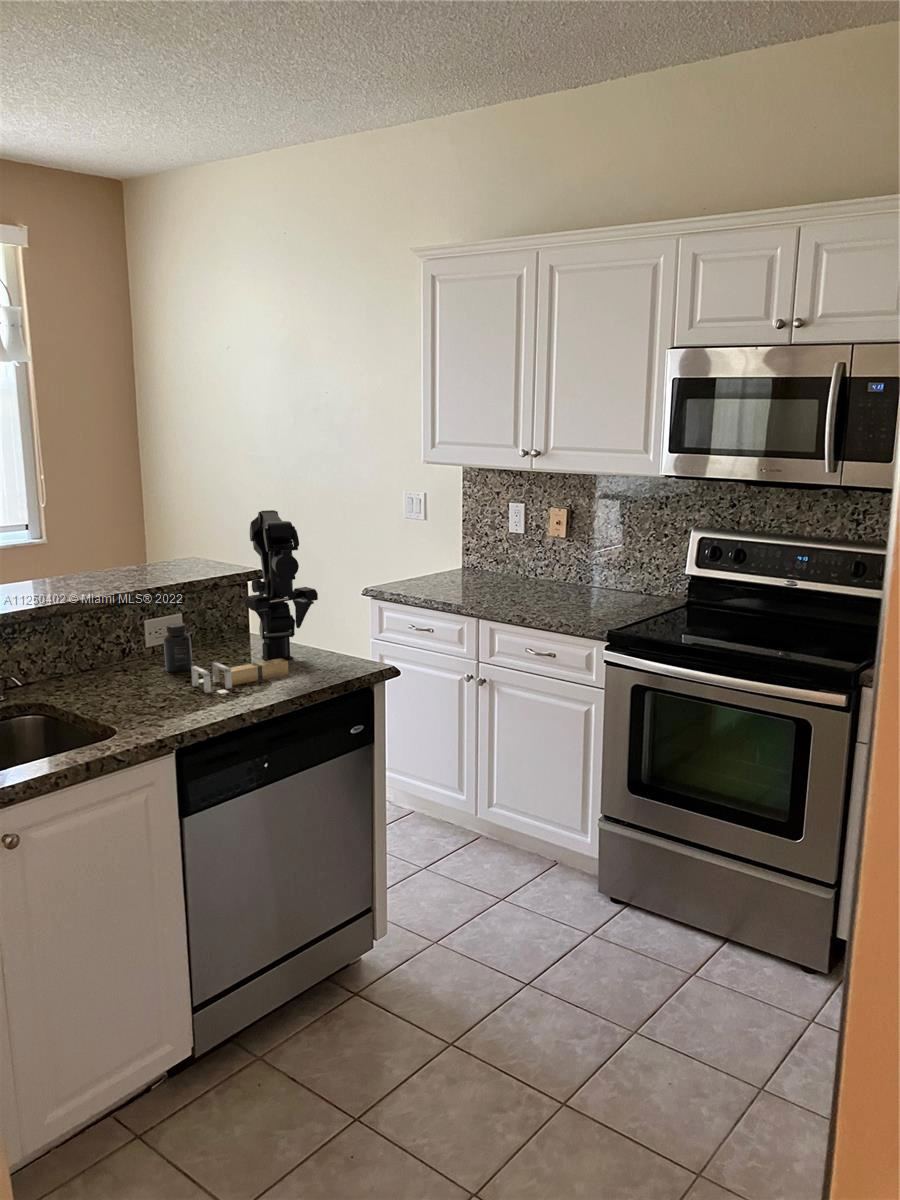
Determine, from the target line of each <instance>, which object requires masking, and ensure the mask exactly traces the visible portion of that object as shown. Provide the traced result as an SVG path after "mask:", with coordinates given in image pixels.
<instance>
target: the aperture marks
mask: <svg viewBox="0 0 900 1200" xmlns="http://www.w3.org/2000/svg"><path fill="white" fill-rule="evenodd" d="M199 684H204V679H203V678H201V679H199ZM216 693H218V694H220V695H224V694H229V691H228V689H226V688H225V689H220V690H219V689H218V690H216Z"/></svg>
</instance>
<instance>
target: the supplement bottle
mask: <svg viewBox="0 0 900 1200" xmlns="http://www.w3.org/2000/svg"><path fill="white" fill-rule="evenodd" d="M186 625H187V624H186V623H182V622H176V623H173V622H172V623H170V624H166V634H167V635H165V636H164V638H163V647H164V648H163V650H164V662H165V665H164V666H165V671H167V672H168V673H185V672H188V671H191V667H192V666H194V665H193V653H192V640H191V636H190V635H189V633H186V632H187V626H186Z"/></svg>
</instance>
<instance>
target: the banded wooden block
mask: <svg viewBox="0 0 900 1200" xmlns="http://www.w3.org/2000/svg"><path fill="white" fill-rule="evenodd" d="M230 668H231V677H232V686H237V685H241V684H246V683H250V682H255V681H261V680H266V679H271V678H276V677H281V676H286V675H289V661H288V660H284V659H282V658H279V659H274V660H269V661H267V660H265V661H260V662H252V663H248V664H242V665H237V666H232V667H230ZM223 674H224V675H223V676H224V677H225V673H224V672H223ZM285 674H286V675H285ZM280 675H281V676H280ZM275 676H276V677H275ZM265 678H266V679H265Z"/></svg>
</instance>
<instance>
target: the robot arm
mask: <svg viewBox="0 0 900 1200" xmlns="http://www.w3.org/2000/svg"><path fill="white" fill-rule="evenodd" d="M249 540H250V542H252V547H253V551H255V552H256V553H257V555H259V557H260V562H261V571H262V577H263V578H262V579H260V578H257V579H252V580H251V591H252V592H253V593H254V594H252V595H247V596H246V597H245V599H244V607H245V608H248V609H249V610H251V611H254V612H255V613H256V614H257V616H258V618H259V620H260V622H259V627H258V628H259V636H260V639H261V640H263V642H262V648H261V649H262V656H261V659H263V660H265V661H269V660H274V659H279V658H282V659H284V660H287V661H288V660H293V659H294V656H291V649H290V648H291V643H290V642H291V640H290V638H294V636H295V635H296V634H295V633H296V632H295V630H296V629H295V628H297V629H300V628H301V626H302V623H303V621H304V620H305V617H306V615H307V613H308V611H309V609H310V608H311V606H312V605H314V603H315V602H314V601H318V599H319V595H318V594H319V593H318V592H317V590H316V588H311V587H307V586H302V587H296V588H294V586H293V585H294V584H293V583H294V582H293V581H294V580H296V574H297V573H298V571H299V568H300V566H299V562H298V560H297V558H296V557H295V556H294V555H293V551H298V550H299V546H300V541H299V535H298V530H297V529H296V527H295V526H294V525H293V523H292V522H291V521H289V520H288V521H287V520H282V519H281V518H280V516H279V511H277V510H272V509H271V510H268V509H267V510H261V511H258V513H257V516H256V517H255V518H254V519H253V520H252V521H251V522H250V526H249ZM262 580H263V581H262ZM256 593H258V594H256ZM288 601H292V602H293V605H294V609H295V610H294V611H295V612H294V613H295V619H294V616H293V614H291V611H290V610H291V608H290V605H289V603H288Z"/></svg>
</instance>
